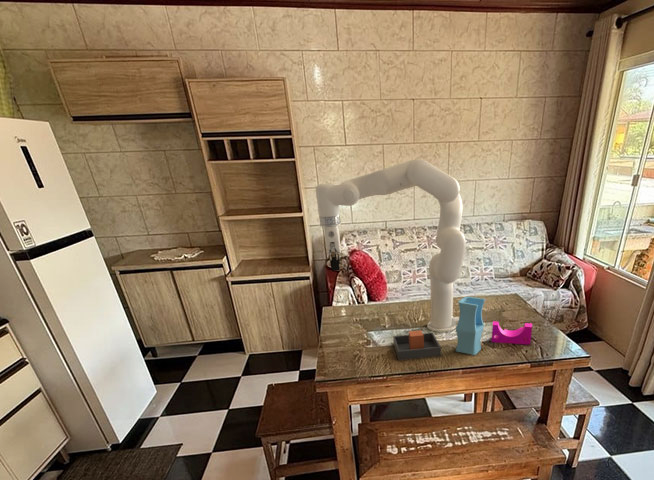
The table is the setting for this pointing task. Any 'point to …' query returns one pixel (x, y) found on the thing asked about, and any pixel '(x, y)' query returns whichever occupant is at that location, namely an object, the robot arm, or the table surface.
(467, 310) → the vase
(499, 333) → the toy block
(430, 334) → the tub
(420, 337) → the wooden block
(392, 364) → the table surface
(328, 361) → the table surface
